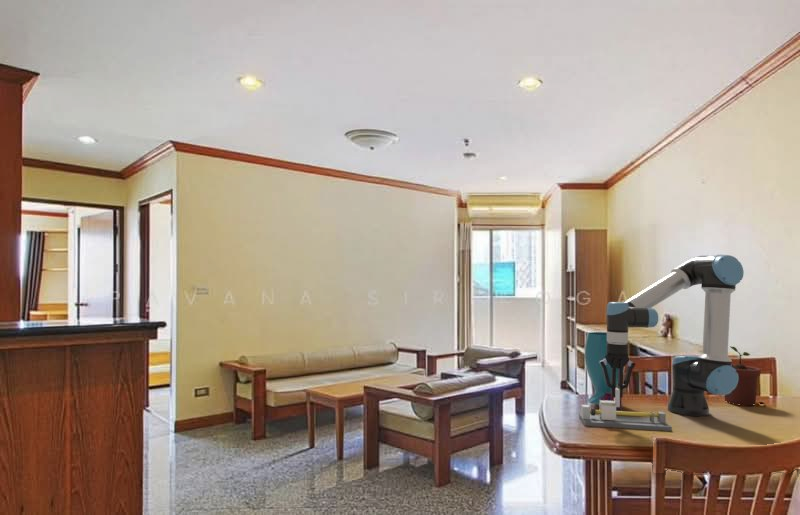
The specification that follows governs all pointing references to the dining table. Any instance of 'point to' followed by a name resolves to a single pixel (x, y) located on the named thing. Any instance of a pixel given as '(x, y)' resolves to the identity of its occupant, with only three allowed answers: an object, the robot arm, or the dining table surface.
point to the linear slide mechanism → (625, 420)
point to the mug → (608, 397)
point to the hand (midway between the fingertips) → (616, 406)
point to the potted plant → (744, 384)
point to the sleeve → (607, 410)
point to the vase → (597, 364)
